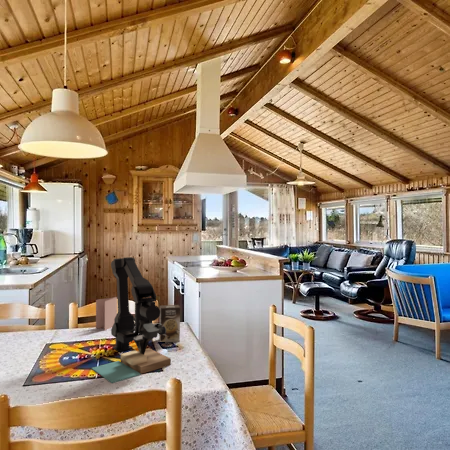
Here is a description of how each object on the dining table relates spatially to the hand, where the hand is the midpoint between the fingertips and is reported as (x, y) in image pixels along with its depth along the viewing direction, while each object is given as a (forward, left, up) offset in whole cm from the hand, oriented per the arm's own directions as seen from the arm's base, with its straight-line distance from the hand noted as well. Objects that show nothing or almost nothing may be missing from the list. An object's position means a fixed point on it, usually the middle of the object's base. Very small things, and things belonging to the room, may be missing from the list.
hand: (142, 355), depth 146 cm
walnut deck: (0, +1, -4) cm, 4 cm away
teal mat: (0, -11, -4) cm, 12 cm away
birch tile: (0, -4, -1) cm, 4 cm away
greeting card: (-57, +13, -4) cm, 59 cm away
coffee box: (-18, +25, -4) cm, 31 cm away
